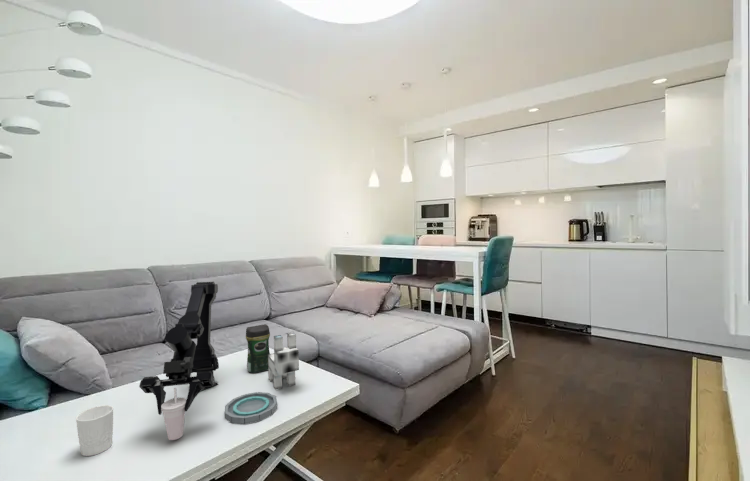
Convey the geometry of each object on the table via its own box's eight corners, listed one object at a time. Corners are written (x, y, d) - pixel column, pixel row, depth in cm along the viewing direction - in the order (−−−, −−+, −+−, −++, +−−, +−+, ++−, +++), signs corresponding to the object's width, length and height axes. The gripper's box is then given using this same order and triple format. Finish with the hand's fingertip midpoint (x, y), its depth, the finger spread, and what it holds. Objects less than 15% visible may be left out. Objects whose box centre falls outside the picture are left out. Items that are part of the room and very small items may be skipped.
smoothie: (176, 444, 95) (174, 394, 94) (156, 441, 96) (154, 392, 96) (193, 430, 101) (191, 383, 101) (174, 428, 103) (172, 381, 102)
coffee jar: (268, 363, 152) (266, 321, 152) (273, 369, 146) (272, 326, 145) (245, 368, 147) (243, 325, 146) (249, 375, 141) (247, 330, 140)
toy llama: (285, 372, 142) (284, 324, 141) (299, 390, 127) (298, 336, 126) (267, 377, 139) (265, 327, 138) (279, 395, 124) (277, 339, 123)
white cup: (92, 440, 99) (90, 406, 99) (121, 438, 100) (119, 404, 99) (70, 459, 91) (68, 421, 91) (102, 456, 92) (100, 419, 91)
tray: (215, 412, 113) (215, 406, 113) (259, 393, 125) (259, 387, 125) (241, 430, 103) (241, 423, 103) (286, 407, 115) (286, 401, 115)
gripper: (140, 350, 99) (123, 408, 89) (210, 344, 103) (202, 398, 93) (152, 366, 107) (138, 420, 97) (217, 359, 112) (210, 411, 102)
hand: (172, 412), depth 97 cm, fingers closed on smoothie, 6 cm apart
